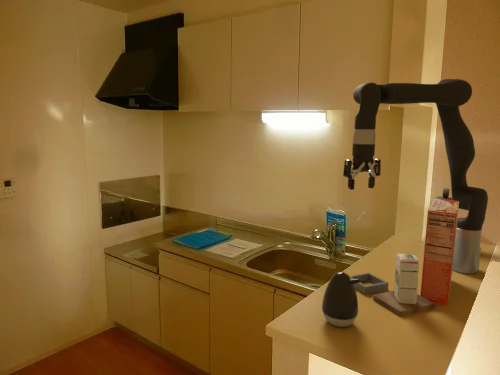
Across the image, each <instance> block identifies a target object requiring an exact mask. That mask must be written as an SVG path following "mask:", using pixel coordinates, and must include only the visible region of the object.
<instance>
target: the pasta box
mask: <svg viewBox="0 0 500 375" xmlns="http://www.w3.org/2000/svg"><path fill="white" fill-rule="evenodd" d="M435 198H436V197H435ZM435 198H433V200H432V202H431V204H430V206H429V208H428V209H427V215H426V227H425V228H426V229H425V239H424V249H423V250H424V252H423V260H422V261H423V262H422V272H421V284H420V293H419V294H420V296H422V297H424V298H426V299H428V300H429V301H431V302H433V303H435V304H438V305H443V306H449V298H450V291H451V284H452V275H453V270H452V267H453V257H454V247H455V237H456V227H457V219H458V215H459V209H460V208H459V201H456V200H445V199H435Z"/></svg>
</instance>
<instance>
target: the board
mask: <svg viewBox="0 0 500 375" xmlns="http://www.w3.org/2000/svg"><path fill="white" fill-rule="evenodd" d="M372 300H374V301H375V302H376V303H378V304H380V305H381V306H384V307H385V308H386V309H388V310H389V311H391V312H393V313H394V314H396V315H397V316H398V317H403V316H407V315H411V314H416V313H420V312H423V311H428V310H432V309H435V308H436V303H434V302H431V301H429V300H428V299H426V298H424V297H422V296H420V295H419V294H418V293H417V300H416V304H405V303H398V302H397V300H396V298H395V296H394V290H391V291H386V292H382V293H377V294H373V295H372Z"/></svg>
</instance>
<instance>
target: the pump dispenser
mask: <svg viewBox="0 0 500 375" xmlns="http://www.w3.org/2000/svg"><path fill="white" fill-rule="evenodd" d="M350 276H351V275H349V274H348V273H347V272H343V271H337V272H335V273H334V274H333V275H332V276H331V278H330V279H329V281H328V283H327V285H326V288H325V290H324V294H323V298H322V304H321V311H322V313H323V316H324V319H325V320H326V321H327V322H328V323H329V324H331V325H333V326H335V327H338V328H346V327H348V326H350V325H352V324H353V323H355V320H356V319H357V316H358V314H359V299H358V294H357V291H356V290H357V289H356V288H355V287H354V284H356V283H361V282H360V279H351V278H350Z"/></svg>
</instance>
